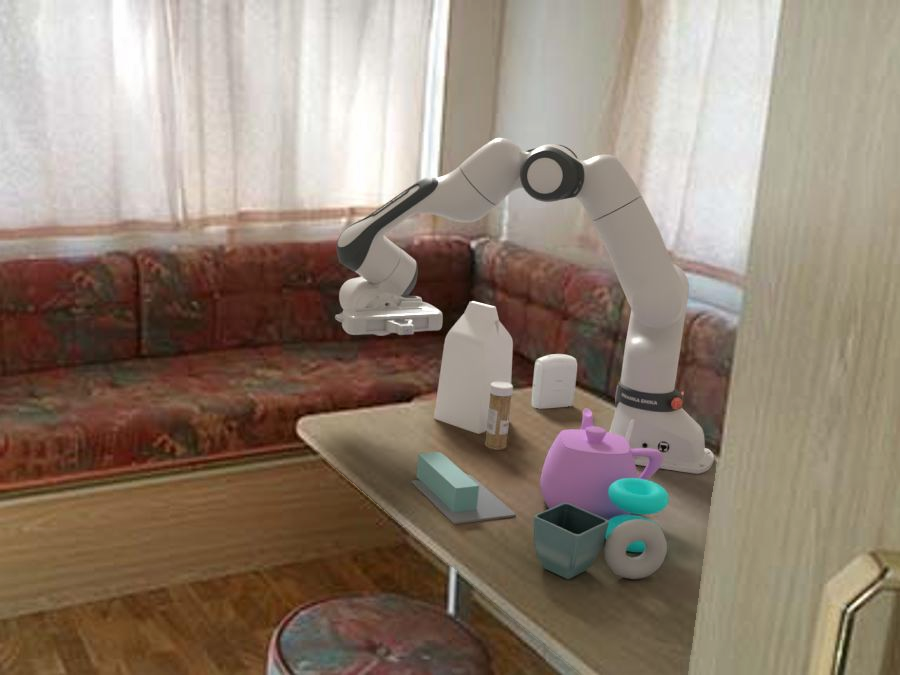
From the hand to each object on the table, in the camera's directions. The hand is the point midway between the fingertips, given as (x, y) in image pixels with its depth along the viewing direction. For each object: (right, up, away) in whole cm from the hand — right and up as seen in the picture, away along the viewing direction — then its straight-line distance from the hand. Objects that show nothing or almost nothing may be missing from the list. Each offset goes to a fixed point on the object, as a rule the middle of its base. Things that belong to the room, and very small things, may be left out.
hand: (407, 330), depth 205 cm
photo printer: (+32, -17, +41) cm, 54 cm away
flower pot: (+26, -38, -37) cm, 59 cm away
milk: (+13, -19, +27) cm, 36 cm away
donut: (+37, -39, -38) cm, 66 cm away
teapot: (+33, -32, -12) cm, 47 cm away
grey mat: (+10, -30, -14) cm, 35 cm away
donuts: (+39, -36, -25) cm, 59 cm away
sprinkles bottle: (+18, -24, +13) cm, 32 cm away
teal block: (+4, -25, -7) cm, 26 cm away
